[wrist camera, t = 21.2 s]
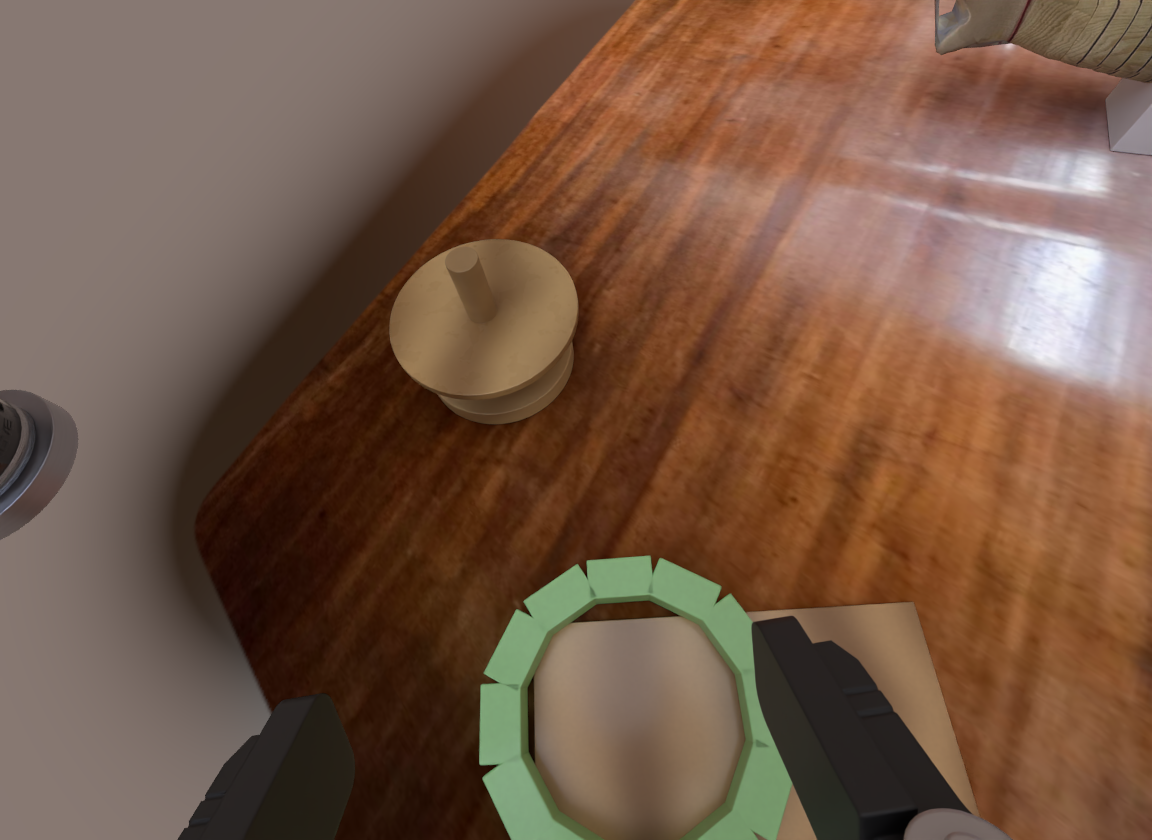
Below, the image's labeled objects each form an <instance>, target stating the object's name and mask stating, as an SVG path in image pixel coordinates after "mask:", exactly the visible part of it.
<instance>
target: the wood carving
mask: <svg viewBox="0 0 1152 840" xmlns="http://www.w3.org/2000/svg"><path fill="white" fill-rule="evenodd" d="M1009 43H1012V44H1015V45H1019V46H1021V47H1023V48H1025V49H1027V50H1029V51H1032V52H1034V53H1036V54H1039V55H1041V56H1043V57H1046V58H1048V59H1053V60H1058V61H1062V62H1064V63H1067V64H1070V65H1073V66H1076V67H1081V68H1088V69H1092V70H1094V71H1096V72H1102V73H1106V74H1108V75H1111V76H1115V77H1122V79H1121V81H1120V82H1119V83H1118V84H1117V86H1116V87H1115V88H1114V89H1113V91H1112V92H1111V93H1110V94H1109V96H1108V97H1107V98H1106V99H1105V101H1106V111H1107V121H1108V131H1109V141H1110V151H1118V152H1127V153H1135V154H1144V155H1152V0H956V2H955V5H954V7H953V10H952V12H949V13H946V14H943V15H941V16H939V0H935V47H936V52H937V53H939V54H941V55H943V54H946V53H949V52H953V51H956V50H959V49H962V48H974V47H986V46H992V45H1000V44H1009Z"/></svg>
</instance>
